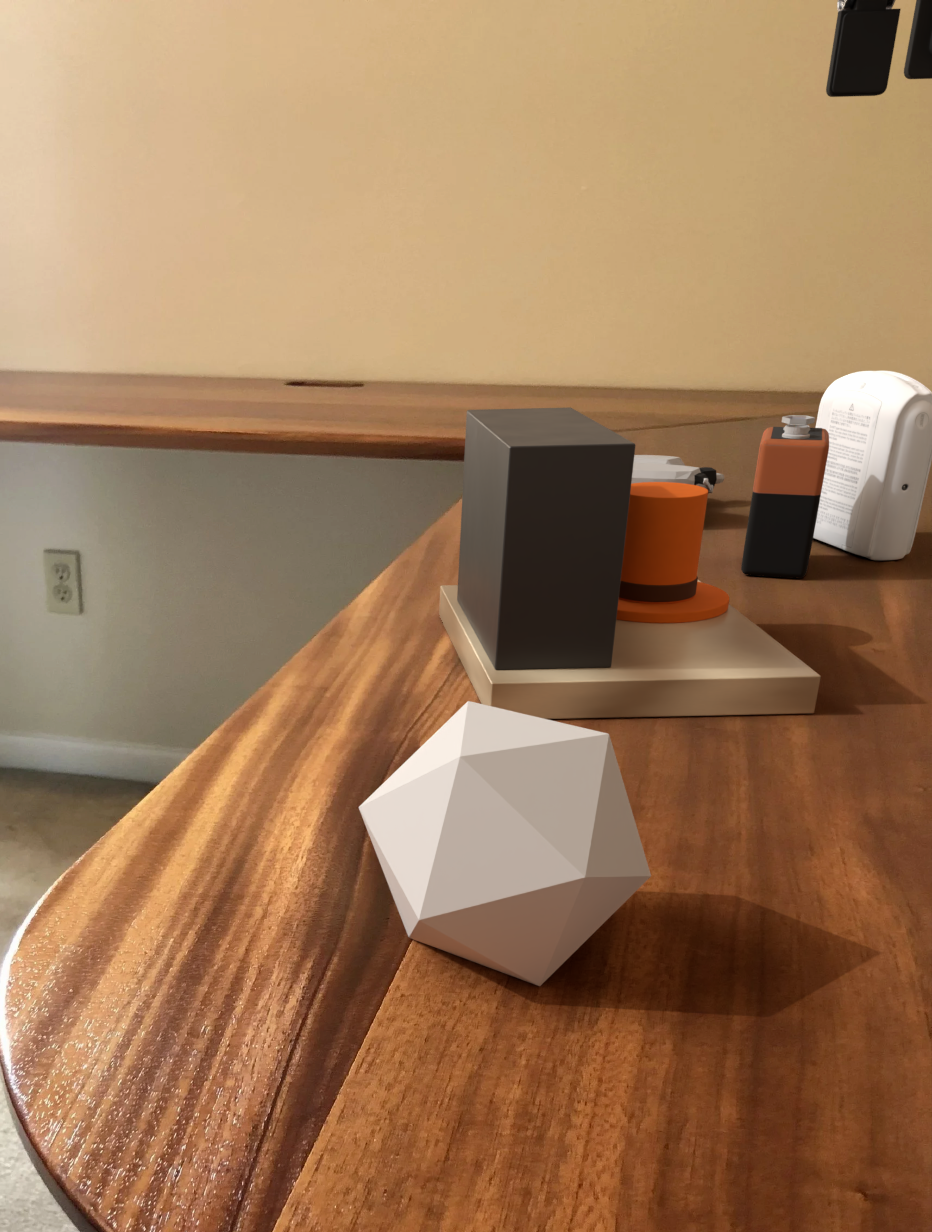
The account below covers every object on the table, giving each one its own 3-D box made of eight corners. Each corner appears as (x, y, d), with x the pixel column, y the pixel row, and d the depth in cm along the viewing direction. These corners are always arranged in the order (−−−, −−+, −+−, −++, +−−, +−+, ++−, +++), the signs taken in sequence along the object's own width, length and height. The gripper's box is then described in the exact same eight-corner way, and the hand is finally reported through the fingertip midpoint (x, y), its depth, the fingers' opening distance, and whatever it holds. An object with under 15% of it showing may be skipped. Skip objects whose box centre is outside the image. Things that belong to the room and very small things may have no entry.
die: (677, 958, 46) (605, 690, 47) (661, 953, 37) (575, 627, 39) (446, 1011, 48) (384, 757, 50) (383, 1018, 40) (311, 712, 41)
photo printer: (920, 559, 94) (960, 376, 88) (867, 563, 93) (903, 379, 88) (837, 531, 103) (868, 363, 97) (787, 534, 102) (816, 365, 96)
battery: (807, 558, 95) (832, 414, 90) (805, 580, 89) (833, 427, 85) (744, 555, 96) (766, 412, 92) (739, 576, 91) (762, 425, 86)
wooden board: (694, 610, 83) (699, 579, 82) (814, 713, 66) (821, 675, 65) (438, 616, 83) (440, 585, 82) (488, 720, 66) (491, 682, 65)
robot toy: (589, 501, 120) (547, 519, 108) (594, 450, 118) (552, 462, 106) (726, 510, 115) (698, 530, 103) (734, 456, 113) (707, 470, 101)
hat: (701, 583, 81) (716, 474, 78) (749, 621, 73) (768, 502, 70) (558, 586, 81) (567, 477, 78) (591, 625, 74) (603, 505, 70)
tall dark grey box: (557, 598, 79) (574, 406, 74) (614, 667, 66) (639, 443, 61) (456, 600, 79) (466, 409, 74) (494, 670, 66) (509, 446, 61)
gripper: (1166, -432, 53) (1054, 67, 61) (960, -283, 68) (892, 99, 76) (981, -426, 53) (894, 71, 61) (817, -279, 68) (764, 103, 76)
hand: (893, 86), depth 68 cm, fingers open, 9 cm apart
